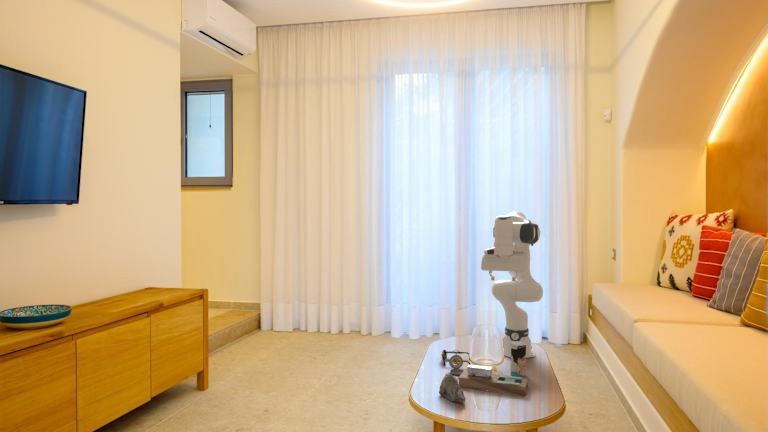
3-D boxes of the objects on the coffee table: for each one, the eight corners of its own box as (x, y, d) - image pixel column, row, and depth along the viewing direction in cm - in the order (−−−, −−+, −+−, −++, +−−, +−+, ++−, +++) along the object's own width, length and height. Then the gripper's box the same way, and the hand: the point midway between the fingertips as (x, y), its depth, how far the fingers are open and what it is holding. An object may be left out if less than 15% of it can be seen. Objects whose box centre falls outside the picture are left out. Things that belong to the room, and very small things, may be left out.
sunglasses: (472, 368, 239) (472, 358, 239) (440, 366, 242) (440, 356, 242) (472, 359, 253) (472, 349, 253) (442, 357, 255) (442, 348, 255)
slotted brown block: (464, 378, 224) (464, 369, 224) (528, 387, 214) (528, 378, 213) (458, 386, 215) (458, 376, 215) (525, 396, 204) (525, 386, 204)
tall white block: (469, 382, 220) (469, 364, 220) (491, 385, 216) (491, 367, 216) (467, 384, 217) (467, 366, 217) (490, 388, 213) (490, 369, 213)
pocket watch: (457, 376, 227) (457, 355, 227) (444, 371, 234) (444, 350, 233) (469, 373, 232) (470, 352, 232) (457, 368, 239) (457, 347, 238)
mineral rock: (465, 407, 194) (465, 382, 194) (438, 405, 195) (438, 380, 195) (465, 394, 207) (465, 370, 206) (439, 393, 208) (439, 369, 208)
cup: (518, 379, 224) (519, 346, 224) (507, 374, 230) (507, 342, 229) (528, 376, 228) (529, 343, 227) (517, 371, 234) (517, 340, 233)
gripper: (526, 250, 228) (526, 280, 229) (481, 249, 232) (480, 279, 232) (527, 251, 222) (527, 282, 222) (481, 250, 226) (481, 281, 226)
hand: (503, 280), depth 227 cm, fingers open, 8 cm apart
